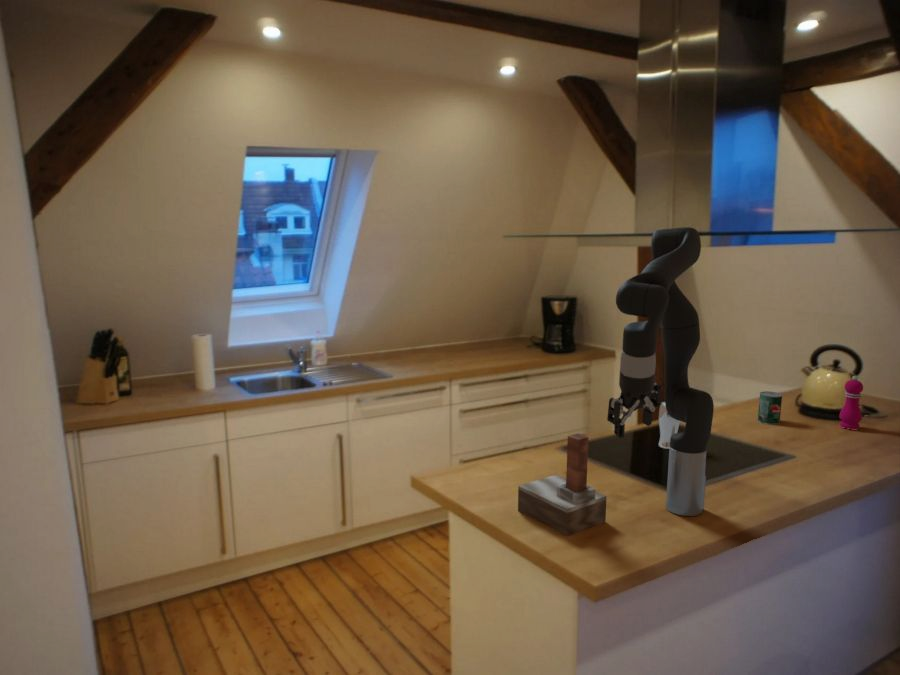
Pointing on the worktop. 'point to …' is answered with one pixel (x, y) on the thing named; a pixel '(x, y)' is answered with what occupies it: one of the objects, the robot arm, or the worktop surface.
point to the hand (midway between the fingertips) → (633, 430)
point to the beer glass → (666, 426)
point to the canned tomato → (769, 407)
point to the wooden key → (577, 462)
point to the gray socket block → (561, 505)
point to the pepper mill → (851, 404)
